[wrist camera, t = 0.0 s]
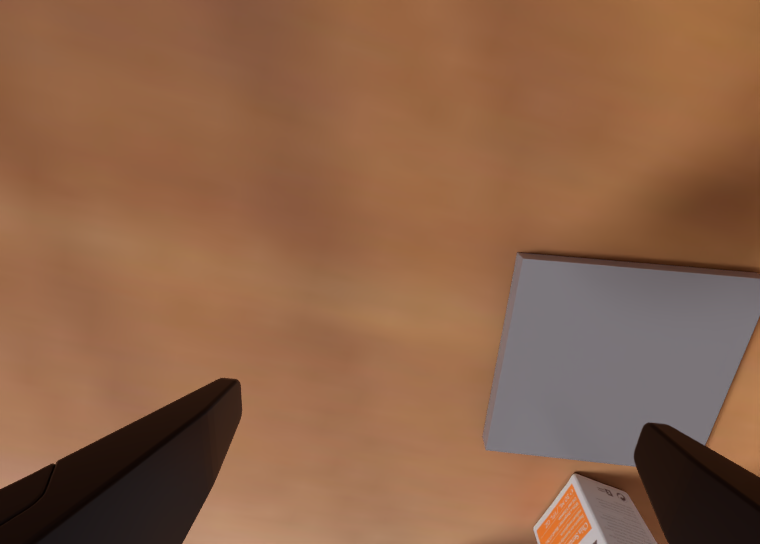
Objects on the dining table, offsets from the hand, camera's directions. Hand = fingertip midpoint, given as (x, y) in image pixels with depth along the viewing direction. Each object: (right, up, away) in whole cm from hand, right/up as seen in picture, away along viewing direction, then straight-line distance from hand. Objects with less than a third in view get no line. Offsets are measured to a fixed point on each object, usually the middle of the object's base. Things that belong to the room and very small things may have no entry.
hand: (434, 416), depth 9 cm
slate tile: (+13, -2, +15) cm, 20 cm away
